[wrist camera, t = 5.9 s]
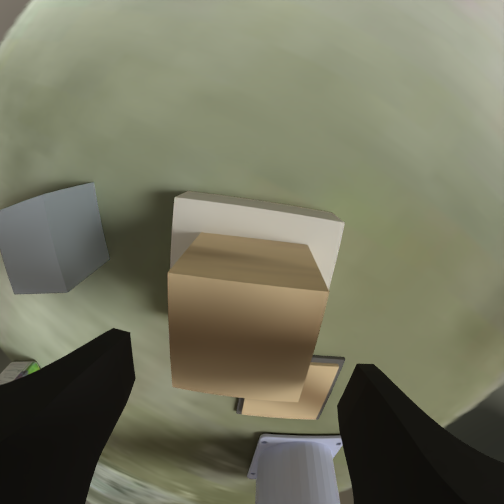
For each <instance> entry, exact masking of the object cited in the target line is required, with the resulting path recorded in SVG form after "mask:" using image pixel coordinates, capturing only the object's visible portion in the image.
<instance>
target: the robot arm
mask: <svg viewBox="0 0 504 504" xmlns="http://www.w3.org/2000/svg"><path fill="white" fill-rule="evenodd" d="M134 381H135V371H134V364H133V356H132V347H131V338H130V332H126V331H122V330H119V329H115V328H113V329H111V330H109V331H107V332H105V333H103V334H102V335H100V336H98V337H97V338H95V339H93V340H92V341H90V342H88V343H87V344H85V345H83V346H81V347H80V348H78V349H76V350H75V351H73V352H71V353H69V354H68V355H66V356H64V357H62V358H61V359H59V360H57V361H55V362H53V363H51V364H49V365H47V366H45V367H43V368H41V369H39V370H37V371H35V372H33V373H31V374H28V375H26V376H24V377H21V378H19V379H16V380H13V381H11V382H8V383H5V384H2V385H0V504H85V502H86V498H87V494H88V491H89V487H90V483H91V480H92V477H93V474H94V471H95V468H96V465H97V462H98V460H99V457H100V455H101V453H102V450H103V448H104V446H105V444H106V442H107V441H108V439H109V437H110V435H111V433H112V431H113V429H114V427H115V425H116V423H117V421H118V419H119V417H120V415H121V413H122V411H123V409H124V407H125V405H126V403H127V401H128V398H129V395H130V393H131V390H132V387H133V384H134ZM337 409H338V421H339V430H340V435H337V436H297V435H276V434H262V435H261V436H260V438H259V441H258V444H257V447H256V450H255V453H254V456H253V459H252V462H251V465H250V468H249V471H248V474H247V477H248V478H250V479H256V501H255V504H340V500H339V494H338V488H337V482H336V476H335V470H334V464H333V458H334V456H335V455H336V453H337V452H338V451H339V449H340V448H341V446H342V445H343V448H344V453H345V457H346V461H347V465H348V470H349V474H350V479H351V483H352V489H353V496H354V504H504V463H503V462H500V461H497V460H495V459H493V458H490V457H489V456H486V455H484V454H483V453H481V452H479V451H477V450H475V449H474V448H472V447H470V446H469V445H467V444H465V443H464V442H462V441H461V440H459V439H458V438H456V437H455V436H453V435H452V434H450V433H449V432H448V431H446V430H445V429H444V428H442V427H441V426H440V425H439V424H438V423H436V422H435V421H434V420H433V419H432V418H430V417H429V416H428V415H427V414H426V413H425V412H424V411H422V410H421V409H420V408H419V407H418V406H417V405H416V404H415V403H414V402H413V401H412V400H411V399H410V398H408V397H407V396H406V395H405V394H404V393H403V392H402V391H401V390H400V389H399V388H398V387H397V386H396V385H395V384H394V383H393V382H392V381H391V380H390V379H389V378H388V377H387V376H386V375H385V374H384V373H383V372H382V371H381V370H380V369H378V368H377V367H376V366H375V365H374V364H357V365H356V367H355V369H354V371H353V374H352V376H351V378H350V380H349V382H348V384H347V387H346V389H345V391H344V393H343V395H342V397H341V399H340V401H339V403H338V405H337Z"/></svg>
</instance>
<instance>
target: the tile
mask: <svg viewBox="0 0 504 504" xmlns="http://www.w3.org/2000/svg"><path fill="white" fill-rule="evenodd" d="M344 361H345V358H344V357H334V356H319V355H313V356H312V360H311V363H310V366H309V370H308V373H307V376H306V379H305V383H304V386H303V389H302V392H301V395H300V398H299V401H298V402H283V401H268V400H257V399H247V398H239V400H238V406H237V412H236V413H237V414H243V415H252V416H262V417H274V418H290V419H319V417H320V415H321V413H322V411H323V409H324V407H325V404H326V402H327V400H328V398H329V396H330V394H331V391H332V389H333V387H334V385H335V382H336V380H337V378H338V376H339V373H340V371H341V368H342V366H343V364H344Z"/></svg>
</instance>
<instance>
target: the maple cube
mask: <svg viewBox="0 0 504 504" xmlns="http://www.w3.org/2000/svg"><path fill="white" fill-rule="evenodd" d="M328 295H329V290H328V288H327V286H326V283H325V281H324V279H323V277H322V274H321V272H320V270H319V268H318V266H317V264H316V261H315V259H314V257H313V255H312V253H311V251H310V249H309V247H308V245H305V244H297V243H289V242H281V241H272V240H264V239H256V238H247V237H239V236H230V235H221V234H212V233H203V232H201V233H200V234H199V236H198V237H197V238H196V239H195V240H194V241H193V243H192V244H191V245H190V246H189V247H188V249H187V250H186V251H185V252H184V253H183V255H182V256H181V257H180V258H179V259H178V261H177V262H176V263H175V264H174V265H173V267H172V268H171V269H170V270H169V271H168V320H169V342H170V359H171V373H172V385H173V387H175V388H181V389H186V390H191V391H197V392H203V393H209V394H216V395H223V396H230V397H238V398H247V399H257V400H268V401H283V402H298V401H299V398H300V395H301V392H302V389H303V386H304V383H305V379H306V376H307V373H308V370H309V366H310V363H311V360H312V356H313V353H314V349H315V346H316V342H317V338H318V335H319V331H320V327H321V323H322V320H323V316H324V312H325V308H326V304H327V300H328Z"/></svg>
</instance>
